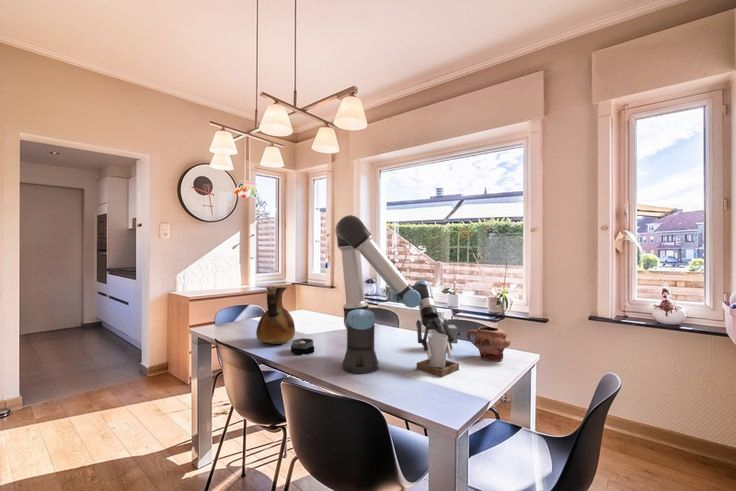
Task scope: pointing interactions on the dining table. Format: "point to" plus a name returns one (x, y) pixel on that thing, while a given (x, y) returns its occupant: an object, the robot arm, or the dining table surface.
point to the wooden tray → (438, 368)
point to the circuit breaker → (452, 329)
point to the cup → (437, 349)
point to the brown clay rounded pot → (490, 342)
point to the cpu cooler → (302, 346)
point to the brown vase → (275, 319)
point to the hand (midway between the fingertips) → (440, 357)
